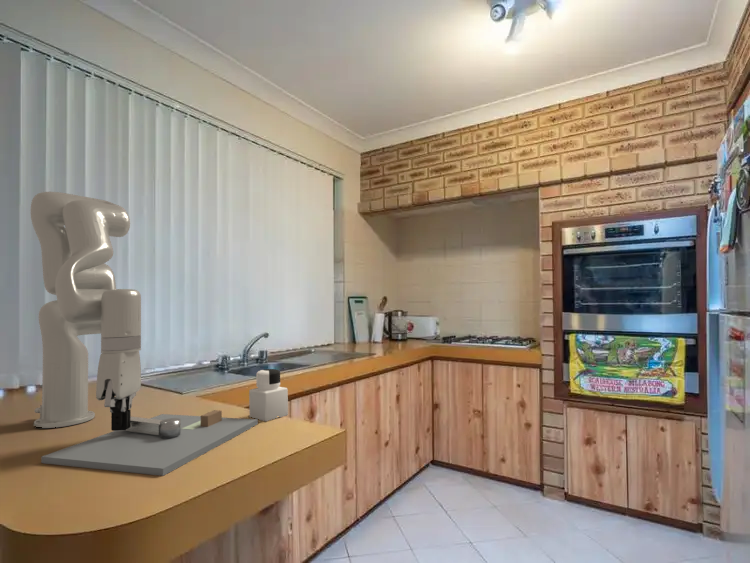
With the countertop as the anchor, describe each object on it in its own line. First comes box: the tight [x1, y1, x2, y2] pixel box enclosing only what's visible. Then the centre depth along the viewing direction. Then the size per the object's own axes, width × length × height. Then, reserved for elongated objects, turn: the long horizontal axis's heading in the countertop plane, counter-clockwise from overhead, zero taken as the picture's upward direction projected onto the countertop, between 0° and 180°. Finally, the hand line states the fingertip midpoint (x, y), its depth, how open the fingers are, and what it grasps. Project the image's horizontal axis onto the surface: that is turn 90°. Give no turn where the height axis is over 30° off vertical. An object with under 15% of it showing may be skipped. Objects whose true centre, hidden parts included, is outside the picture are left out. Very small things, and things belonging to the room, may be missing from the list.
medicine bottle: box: [248, 368, 289, 422], centre depth 106 cm, size 7×7×12 cm
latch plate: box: [40, 409, 259, 477], centre depth 89 cm, size 28×30×4 cm
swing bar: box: [123, 416, 181, 438], centre depth 90 cm, size 16×4×3 cm, turn 68°
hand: (121, 429), depth 89 cm, fingers closed
